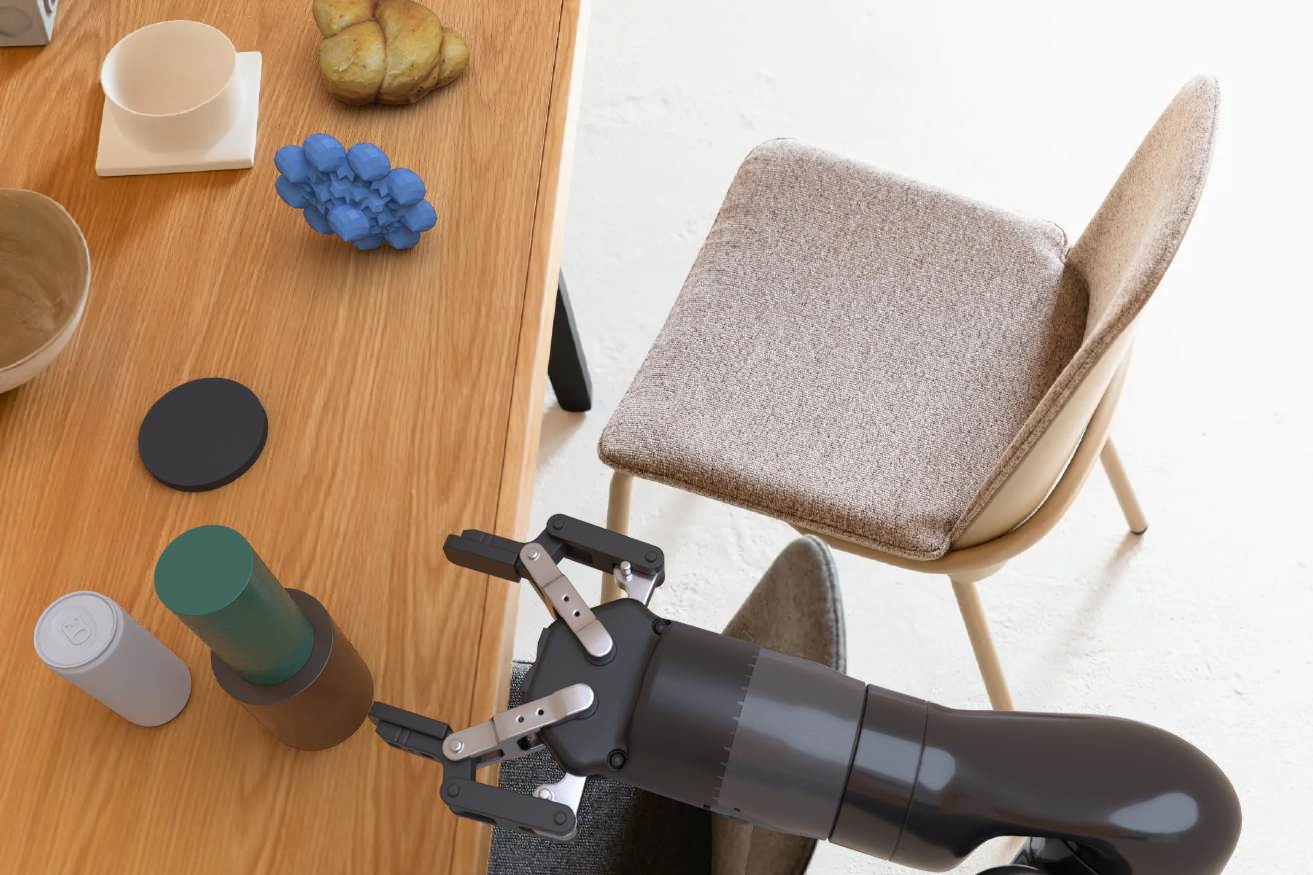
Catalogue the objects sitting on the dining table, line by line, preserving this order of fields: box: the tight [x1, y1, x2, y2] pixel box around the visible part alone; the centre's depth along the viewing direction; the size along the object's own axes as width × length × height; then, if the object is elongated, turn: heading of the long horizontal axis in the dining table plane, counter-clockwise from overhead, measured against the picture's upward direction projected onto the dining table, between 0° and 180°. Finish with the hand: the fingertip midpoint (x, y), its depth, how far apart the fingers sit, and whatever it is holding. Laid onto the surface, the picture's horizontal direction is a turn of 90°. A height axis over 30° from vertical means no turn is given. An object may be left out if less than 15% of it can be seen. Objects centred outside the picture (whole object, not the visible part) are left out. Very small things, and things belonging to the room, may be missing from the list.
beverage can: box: [32, 590, 192, 727], centre depth 70 cm, size 5×5×12 cm
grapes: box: [273, 132, 438, 251], centre depth 88 cm, size 12×7×12 cm, turn 86°
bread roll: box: [311, 0, 470, 106], centre depth 99 cm, size 13×10×8 cm
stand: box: [210, 587, 374, 752], centre depth 71 cm, size 7×7×10 cm
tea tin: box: [153, 524, 314, 685], centre depth 62 cm, size 5×5×11 cm
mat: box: [137, 377, 269, 493], centre depth 84 cm, size 9×9×1 cm
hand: (412, 628), depth 55 cm, fingers open, 8 cm apart
